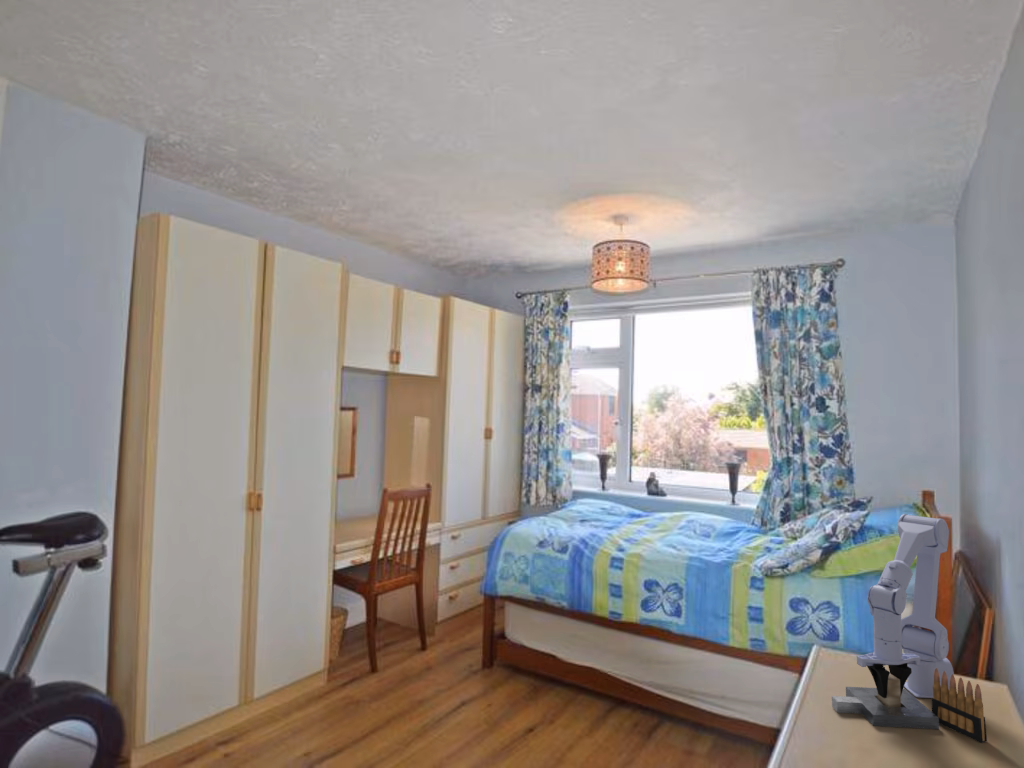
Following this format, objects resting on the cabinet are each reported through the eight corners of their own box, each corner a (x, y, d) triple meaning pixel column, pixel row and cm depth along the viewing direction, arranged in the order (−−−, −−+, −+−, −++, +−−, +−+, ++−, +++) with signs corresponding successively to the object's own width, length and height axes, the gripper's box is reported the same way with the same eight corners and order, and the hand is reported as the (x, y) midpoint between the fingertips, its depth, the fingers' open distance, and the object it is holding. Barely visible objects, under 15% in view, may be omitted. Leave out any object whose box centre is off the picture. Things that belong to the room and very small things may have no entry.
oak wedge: (889, 701, 145) (888, 672, 146) (901, 709, 141) (900, 679, 142) (877, 702, 145) (876, 672, 145) (888, 710, 141) (887, 679, 141)
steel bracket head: (905, 699, 149) (905, 689, 149) (939, 729, 135) (938, 717, 135) (822, 695, 151) (822, 685, 151) (847, 724, 137) (847, 713, 137)
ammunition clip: (987, 741, 130) (985, 685, 131) (981, 743, 129) (979, 686, 130) (936, 718, 140) (934, 665, 140) (931, 720, 139) (929, 667, 140)
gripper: (904, 630, 148) (906, 686, 147) (848, 632, 147) (849, 689, 146) (926, 641, 141) (928, 700, 140) (867, 643, 140) (868, 703, 139)
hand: (889, 695), depth 143 cm, fingers closed on oak wedge, 3 cm apart
